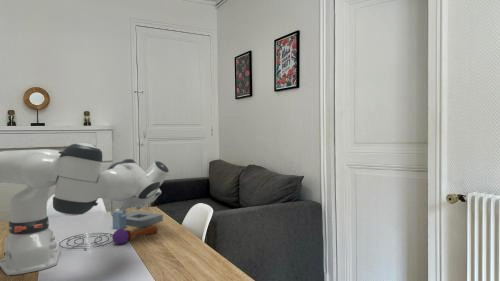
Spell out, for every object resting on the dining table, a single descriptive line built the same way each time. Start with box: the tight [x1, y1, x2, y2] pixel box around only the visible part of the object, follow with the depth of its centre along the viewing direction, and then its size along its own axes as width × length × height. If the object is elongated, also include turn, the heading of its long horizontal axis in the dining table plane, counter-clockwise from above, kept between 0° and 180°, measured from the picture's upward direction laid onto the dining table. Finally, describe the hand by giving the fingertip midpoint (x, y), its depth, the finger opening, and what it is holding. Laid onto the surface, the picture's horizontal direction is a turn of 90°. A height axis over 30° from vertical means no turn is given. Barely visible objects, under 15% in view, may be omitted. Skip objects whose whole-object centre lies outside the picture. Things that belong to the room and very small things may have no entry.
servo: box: [111, 208, 127, 231], centre depth 162 cm, size 7×4×9 cm, turn 61°
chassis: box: [126, 210, 164, 228], centre depth 172 cm, size 18×14×3 cm
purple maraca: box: [112, 225, 158, 245], centre depth 145 cm, size 6×6×20 cm
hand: (129, 210), depth 159 cm, fingers open, 8 cm apart
